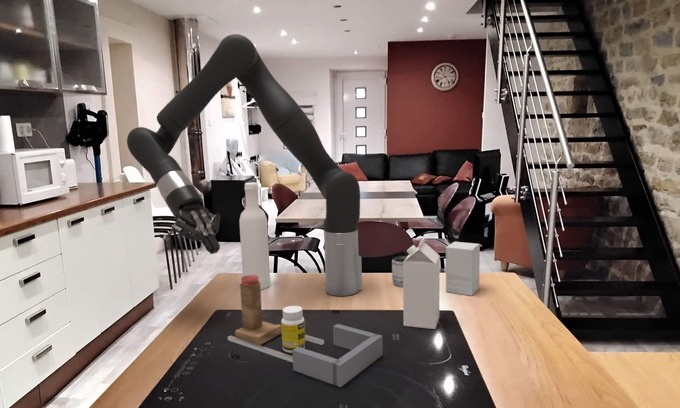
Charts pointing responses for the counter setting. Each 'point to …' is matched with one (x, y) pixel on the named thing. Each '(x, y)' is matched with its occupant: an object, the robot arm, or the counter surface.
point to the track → (271, 351)
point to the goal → (346, 367)
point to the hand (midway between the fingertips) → (215, 251)
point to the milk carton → (421, 287)
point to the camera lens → (398, 270)
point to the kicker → (254, 314)
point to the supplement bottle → (293, 328)
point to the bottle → (254, 238)
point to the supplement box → (462, 268)
